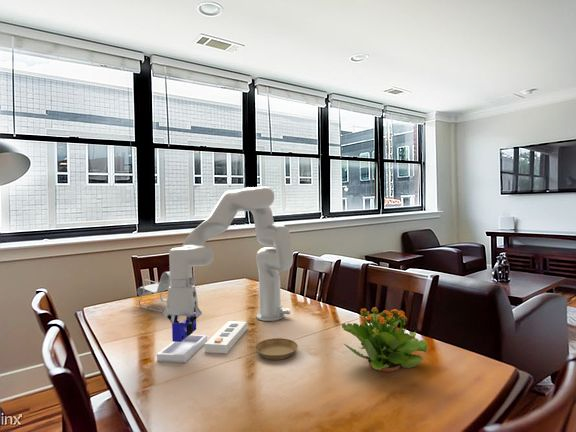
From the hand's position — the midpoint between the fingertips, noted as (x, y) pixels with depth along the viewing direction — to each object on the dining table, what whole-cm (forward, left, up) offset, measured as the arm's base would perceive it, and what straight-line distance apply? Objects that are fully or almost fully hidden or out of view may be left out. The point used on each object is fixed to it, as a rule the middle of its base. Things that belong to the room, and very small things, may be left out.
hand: (183, 333), depth 127 cm
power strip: (-12, -12, -6) cm, 18 cm away
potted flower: (-68, +2, -7) cm, 68 cm away
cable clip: (0, 0, -1) cm, 1 cm away
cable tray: (0, 0, -6) cm, 6 cm away
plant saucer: (-33, -3, -7) cm, 34 cm away
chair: (+36, -50, -7) cm, 62 cm away
